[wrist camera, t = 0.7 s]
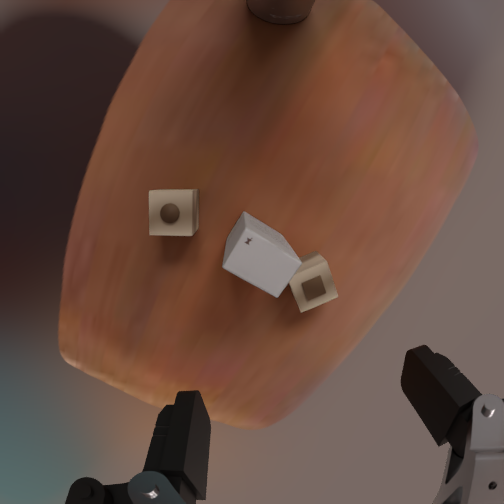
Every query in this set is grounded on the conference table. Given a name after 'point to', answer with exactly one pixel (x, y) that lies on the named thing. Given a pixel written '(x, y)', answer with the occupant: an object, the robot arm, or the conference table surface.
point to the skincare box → (260, 255)
